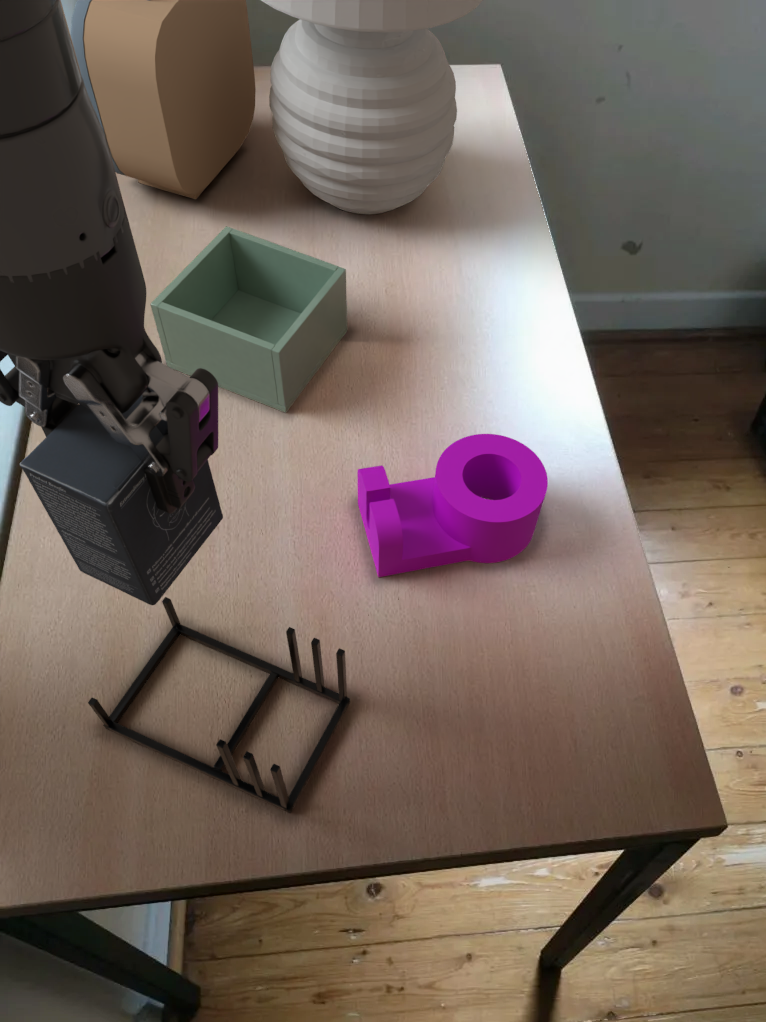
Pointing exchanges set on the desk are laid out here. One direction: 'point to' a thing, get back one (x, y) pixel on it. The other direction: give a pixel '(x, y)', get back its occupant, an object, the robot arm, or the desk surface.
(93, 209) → the robot arm
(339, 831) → the desk surface
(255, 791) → the rack
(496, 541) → the magenta mechanical bracket
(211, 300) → the green storage bin
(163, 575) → the box
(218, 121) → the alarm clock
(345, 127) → the table lamp
